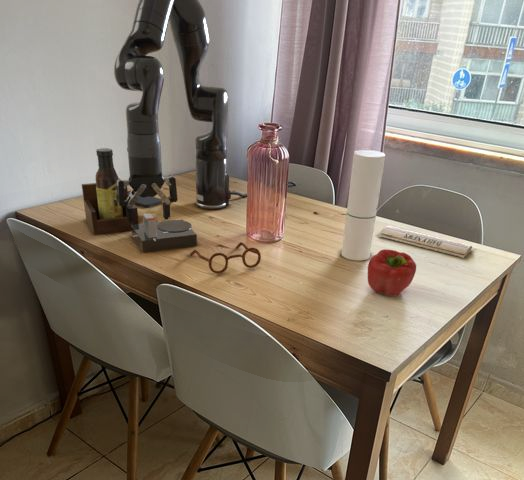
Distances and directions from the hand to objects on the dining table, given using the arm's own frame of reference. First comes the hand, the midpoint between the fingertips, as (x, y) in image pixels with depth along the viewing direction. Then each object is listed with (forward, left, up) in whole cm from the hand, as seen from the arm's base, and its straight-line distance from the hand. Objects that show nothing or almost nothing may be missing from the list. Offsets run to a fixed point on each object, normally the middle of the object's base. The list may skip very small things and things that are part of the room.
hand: (149, 220), depth 135 cm
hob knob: (0, 0, -4) cm, 4 cm away
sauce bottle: (+6, -19, -7) cm, 21 cm away
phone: (-6, -38, -7) cm, 39 cm away
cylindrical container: (-47, +22, -7) cm, 53 cm away
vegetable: (-42, +43, -7) cm, 61 cm away
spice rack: (+6, -19, -7) cm, 21 cm away
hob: (-4, -3, -7) cm, 8 cm away
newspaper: (-70, +21, -7) cm, 73 cm away
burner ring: (-8, -4, -4) cm, 9 cm away
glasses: (-14, +15, -7) cm, 22 cm away
